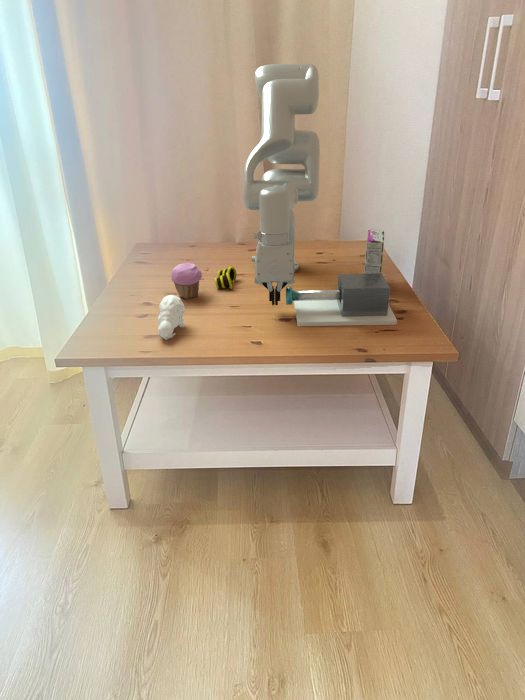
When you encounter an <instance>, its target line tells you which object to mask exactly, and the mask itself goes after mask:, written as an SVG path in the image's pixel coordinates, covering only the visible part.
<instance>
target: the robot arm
mask: <svg viewBox="0 0 525 700" xmlns="http://www.w3.org/2000/svg"><path fill="white" fill-rule="evenodd" d="M319 77H320V76H319V72H318V68H317V67H316V65H314V64H313V63H312V64H311V63H269V64H265V65H261V66H259V67H257V68H256V71H255V73H254V81H255V82H254V83H255V87H256V91H257V93H258V96H259V99H260V102H261V124H260V125H261V127H260V130H261V131H260V141H259V143H258V144H257V145H256V146H255V147H254V148H253V149H252V151H251V152H250V154H249V155H248V157H247V158H246V161H245V163H244V168H243V175H242V200H243V204H244V206H245V207H246V208H247V210H251V211H259V231H258V232H257V233H253V234H254V240H255V239H256V240H258V241H257V244H256V248H255V250H256V251H255V255H251V263H255V265H254V269H255V270H254V274H255V276H254V284H256V285H260V286H263V287H265V289H267V291H268V299H269V300H268V301H269V302H271V305H272V306H278V305H279V302H281V292H282V290H283V289H284V288H286V287H287V285H292V284H295V282H296V280H295V272H297V271H298V270H299V268H300V266H299V263H298V261H295V233H296V232H295V228H296V227H295V225H296V217H295V216H296V215H295V212H294V210H293V209H294V208H295V206H296V205H297V203H298V202H313V201H314V200H316V199H317V197H318V194H319V189H320V188H319V187H320V184H319V183H320V157H321V156H320V155H321V154H320V153H321V152H320V149H321V148H320V146H321V145H320V139H319V135H318V134H317V133H316V132H315V131H314V130H309V129H304V130H302V129H301V130H296V127H295V125H296V122H295V121H296V116H297V115H312V114H314V113H315V112H316V111H317V108H318V103H319V90H320V88H319V87H320V86H319V83H320V82H319V80H320V79H319ZM266 159H267V160H268V162H270V163H271V164H274V165H302V166H303V167H304V168H274V169H269V170H267V171H265V172H264V174H263V175H262V177H261V180H260V179H257V180H254V178H255V172H256V169H257V168H258V167H259V165H261V163H263V161H265V160H266ZM273 283H276V286H275V287H274V286H273Z"/></svg>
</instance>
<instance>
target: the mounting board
mask: <svg viewBox="0 0 525 700" xmlns="http://www.w3.org/2000/svg"><path fill="white" fill-rule="evenodd" d="M293 305H294V311H295V318H296V325H297V326H296V327H323V326H325V327H327V326H328V327H329V326H330V327H331V326H332V327H333V326H335V327H337V326H338V327H339V326H383V325H386V326H387V325H388V326H389V325H390V326H392V325H394V326H395V325H397V323H398V320H397V318H396V316H395V313H394V312H393V310H392V308H391V306H390V303H389V304H388V313H387V316H356V317H342V315H341V312H340V309H339V306H338V303H337V300H323V301H293Z"/></svg>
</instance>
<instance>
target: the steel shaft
mask: <svg viewBox="0 0 525 700" xmlns="http://www.w3.org/2000/svg"><path fill="white" fill-rule="evenodd" d="M341 294H342V291H341V290H338V289H317V290H315V289H311V290H309V289H308V290H305V289H304V290H303V289H302V290H293V286H285V305H286V306H290V305H291V306H293V304H294V301H323V300H341Z"/></svg>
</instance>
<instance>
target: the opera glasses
mask: <svg viewBox="0 0 525 700" xmlns="http://www.w3.org/2000/svg"><path fill="white" fill-rule="evenodd" d="M236 280H237V270H236V268H235V267H234V266H229V267H228V268H224V269H222V270H218V272H217V277H214V281H215V282H214V283H215V286H216V289H217V290H219V289H228V288H229V289H230V290H232V289H233V283H235V282H236Z"/></svg>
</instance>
